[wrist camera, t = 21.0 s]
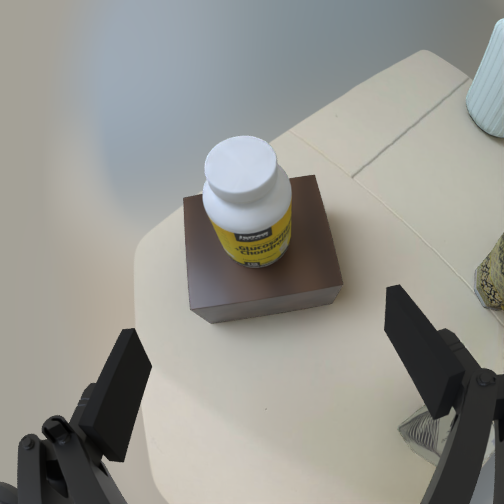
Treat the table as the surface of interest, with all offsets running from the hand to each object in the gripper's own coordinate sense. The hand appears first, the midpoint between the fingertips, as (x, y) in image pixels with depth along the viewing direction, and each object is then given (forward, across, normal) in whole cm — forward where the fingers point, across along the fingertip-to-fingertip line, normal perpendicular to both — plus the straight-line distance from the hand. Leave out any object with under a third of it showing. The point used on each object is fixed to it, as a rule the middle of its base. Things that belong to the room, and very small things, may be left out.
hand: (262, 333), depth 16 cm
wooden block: (+21, 0, -6) cm, 22 cm away
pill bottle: (+16, 0, -1) cm, 16 cm away
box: (+5, +15, -23) cm, 28 cm away
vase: (+35, +46, +8) cm, 59 cm away
